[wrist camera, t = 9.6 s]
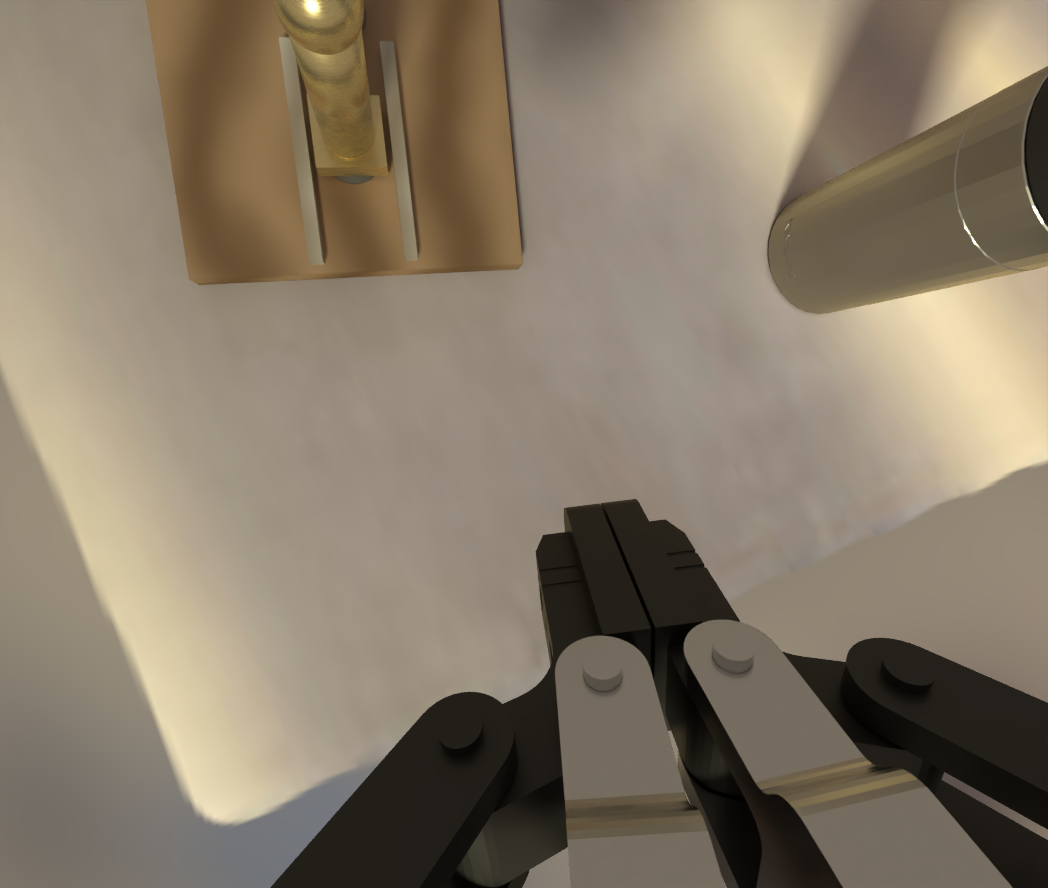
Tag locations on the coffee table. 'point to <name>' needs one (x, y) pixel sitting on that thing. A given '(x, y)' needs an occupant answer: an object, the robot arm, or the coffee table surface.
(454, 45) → the plate
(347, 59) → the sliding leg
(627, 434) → the coffee table surface
